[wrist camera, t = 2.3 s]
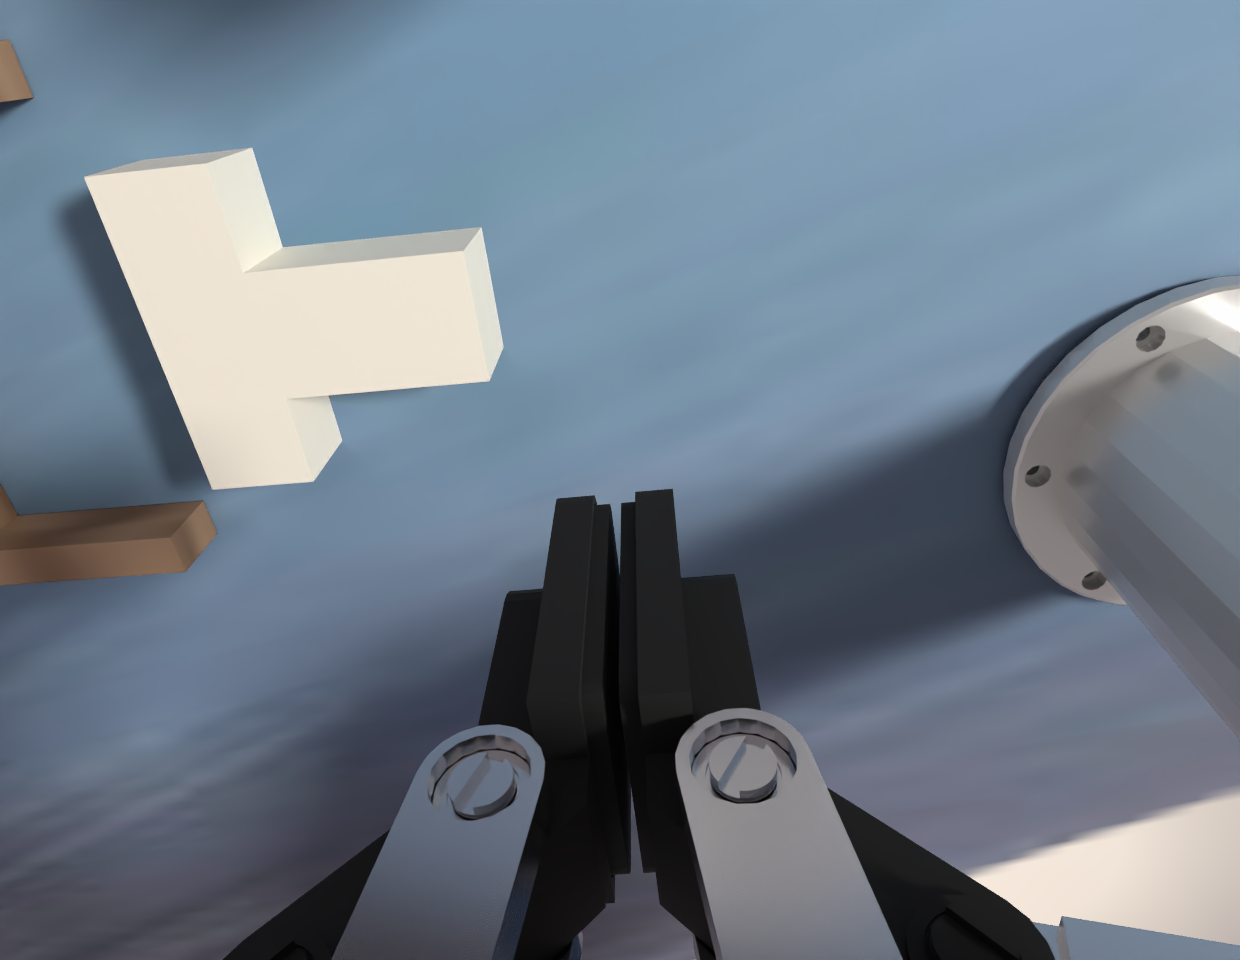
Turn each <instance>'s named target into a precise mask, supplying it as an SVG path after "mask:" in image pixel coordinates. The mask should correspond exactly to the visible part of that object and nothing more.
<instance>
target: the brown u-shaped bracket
mask: <svg viewBox="0 0 1240 960" xmlns="http://www.w3.org/2000/svg"><path fill="white" fill-rule="evenodd" d="M27 98H34V97H33V95H32V92H31V90H30V88H29V85H28V83H27V80H26V78H25V76H24V73H23V71H22V68H21V66H20V64H19V61H18V59H17V57H16V54H15V52H14V49H13V47H12V45H11V42H10V40H0V102H5V101H12V100H20V99H27ZM216 534H217V532H216V530H215V527H214V525H213V523H212V520H211V518H210V515H209V513H208V511H207V508H206V506H205V503H204V501H195V502H182V503H170V504H157V505H145V506H132V507H119V508H107V509H94V510H82V511H69V512H57V513H44V514H32V515H19V516H18V515H17V513H16V511H15V509H14V507H13V506H12V504H11V502H10V500H9V499H8V497H7V495H6V493H5V491H4V490H3V488H2V486H1V484H0V585H12V584H25V583H39V582H53V581H66V580H80V579H94V578H107V577H121V576H134V575H148V574H162V573H175V572H186V571H187V570H188V568H189V567H190V566H191V565H192V564H193V562H194V561H195V560H196V559H197V557H198V556H199V555H200V554H201V553H202V551H203V550H204V549H205V548H206V546H207V545H208V544H209V543H210V542H211V540H212V539H213V538H214V537H215V535H216Z"/></svg>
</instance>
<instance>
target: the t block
mask: <svg viewBox="0 0 1240 960" xmlns="http://www.w3.org/2000/svg"><path fill="white" fill-rule="evenodd" d="M84 178H85V181H86V183H87V186H88V188H89V190H90V193H91V195H92V198H93V200H94V203H95V205H96V207H97V210H98V212H99V215H100V217H101V220H102V222H103V224H104V227H105V229H106V232H107V234H108V237H109V239H110V242H111V244H112V246H113V249H114V251H115V254H116V256H117V259H118V261H119V263H120V266H121V268H122V271H123V273H124V276H125V278H126V280H127V283H128V285H129V288H130V290H131V293H132V295H133V297H134V300H135V302H136V305H137V307H138V310H139V312H140V314H141V317H142V319H143V322H144V324H145V327H146V329H147V331H148V334H149V336H150V339H151V341H152V344H153V346H154V348H155V351H156V353H157V356H158V358H159V361H160V363H161V366H162V368H163V370H164V373H165V375H166V378H167V380H168V383H169V385H170V387H171V390H172V392H173V395H174V397H175V400H176V402H177V404H178V407H179V409H180V412H181V414H182V417H183V419H184V421H185V424H186V426H187V429H188V431H189V434H190V436H191V438H192V441H193V443H194V446H195V448H196V451H197V453H198V455H199V458H200V460H201V463H202V465H203V468H204V470H205V472H206V475H207V477H208V480H209V482H210V485H211V487H212V490H215V489H227V488H239V487H252V486H264V485H277V484H289V483H301V482H314V480H315V479H316V477H317V476H318V474H319V473H320V472H321V470H322V469H323V467H324V466H325V465H326V463H327V462H328V460H329V459H330V457H331V456H332V455H333V453H334V452H335V450H336V449H337V447H338V446H339V445H340V443H341V442H342V439H341V435H340V432H339V429H338V426H337V422H336V419H335V416H334V413H333V409H332V406H331V403H330V400H329V396H328V395H338V394H349V393H361V392H372V391H383V390H394V389H406V388H417V387H428V386H440V385H451V384H462V383H474V382H485V381H490V378H491V376H492V373H493V371H494V369H495V366H496V364H497V361H498V359H499V357H500V354H501V352H502V349H503V341H502V336H501V331H500V325H499V320H498V314H497V309H496V303H495V298H494V293H493V287H492V282H491V276H490V271H489V265H488V260H487V255H486V249H485V244H484V238H483V233H482V228H481V227H477V228H468V229H458V230H448V231H438V232H429V233H419V234H409V235H399V236H389V237H380V238H370V239H360V240H350V241H341V242H331V243H321V244H311V245H301V246H292V247H282V243H281V240H280V237H279V234H278V230H277V227H276V224H275V221H274V217H273V214H272V211H271V208H270V204H269V201H268V198H267V195H266V191H265V188H264V185H263V182H262V178H261V175H260V172H259V169H258V165H257V162H256V159H255V156H254V152H253V149H252V148H246V149H237V150H228V151H219V152H210V153H201V154H192V155H183V156H174V157H165V158H156V159H147V160H141V161H137V162H134V163H130V164H127V165H123V166H120V167H116V168H113V169H109V170H106V171H103V172H99V173H96V174H92V175H89V176H85V177H84Z"/></svg>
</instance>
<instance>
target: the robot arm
mask: <svg viewBox="0 0 1240 960" xmlns="http://www.w3.org/2000/svg"><path fill="white" fill-rule="evenodd" d="M1003 483H1004V503H1005V507H1006V510H1007V514H1008V518H1009V521H1010V525H1011V527H1012V529H1013V530H1014V532H1015V534H1016V536H1017V537H1018V539H1019V541H1020V543H1021V544H1022V546H1023V548H1024V549H1025V550H1026V551H1027V553H1028V554H1029V555H1030V556H1031V558H1032V559H1033V560H1034V561H1035V563H1036V564H1037V565H1038V567H1039V568H1040V569H1041V570H1042V571H1043V572H1045V573H1046V574H1047V575H1049V576H1050V577H1051V578H1052V579H1054V580H1055V581H1056V582H1057V583H1059V584H1060V585H1061V586H1063V587H1065V588H1067V589H1069V590H1071V591H1073V592H1075V593H1077V594H1079V595H1082V596H1084V597H1087V598H1091V599H1095V600H1099V601H1103V602H1107V603H1111V604H1117V605H1128V606H1129V607H1130V609H1131V610H1132V611H1133V612H1134V613H1135V615H1136V616H1137V617H1138V618H1139V619H1140V621H1141V622H1142V623H1143V624H1144V625H1145V627H1146V628H1147V629H1148V630H1149V632H1150V633H1151V634H1152V635H1153V636H1154V638H1155V639H1156V640H1157V641H1158V642H1159V644H1160V645H1161V646H1162V647H1163V648H1164V650H1165V651H1166V652H1167V653H1168V654H1169V656H1170V657H1171V658H1172V659H1173V661H1174V662H1175V663H1176V664H1177V665H1178V667H1179V668H1180V669H1181V670H1182V671H1183V673H1184V674H1185V675H1186V676H1187V677H1188V679H1189V680H1190V681H1191V682H1192V684H1193V685H1194V686H1195V687H1196V688H1197V690H1198V691H1199V692H1200V693H1201V694H1202V696H1203V697H1204V698H1205V699H1206V700H1207V702H1208V703H1209V704H1210V705H1211V706H1212V708H1213V709H1214V710H1215V711H1216V713H1217V714H1218V715H1219V716H1220V717H1221V719H1222V720H1223V721H1224V722H1225V723H1226V725H1227V726H1228V727H1229V728H1230V729H1231V731H1232V732H1233V733H1234V734H1235V735H1236V737H1237V738H1238V739H1239V740H1240V275H1236V276H1225V277H1216V278H1212V279H1208V280H1204V281H1200V282H1197V283H1193V284H1189V285H1185V286H1181V287H1177V288H1175V289H1172V290H1170V291H1168V292H1165V293H1163V294H1161V295H1158V296H1156V297H1154V298H1151V299H1149V300H1147V301H1144V302H1142V303H1140V304H1137V305H1135V306H1134V307H1132V308H1131V309H1129V310H1127V311H1126V312H1124V313H1122V314H1121V315H1119V316H1117V317H1116V318H1114V319H1112V320H1111V321H1109V322H1108V323H1106V324H1104V325H1103V326H1101V327H1100V328H1098V329H1097V330H1096V331H1095V332H1094V333H1092V334H1091V335H1090V336H1089V337H1087V338H1086V339H1085V340H1084V341H1083V342H1081V343H1080V344H1079V345H1078V346H1077V347H1075V348H1074V349H1073V350H1072V351H1070V352H1069V353H1068V354H1067V355H1066V356H1065V358H1064V359H1063V360H1062V361H1061V362H1060V363H1059V364H1058V365H1057V366H1056V367H1055V369H1054V370H1053V371H1052V372H1051V373H1050V374H1049V375H1048V376H1047V377H1046V379H1045V380H1044V381H1043V382H1042V383H1041V385H1040V386H1039V388H1038V389H1037V391H1036V393H1035V394H1034V396H1033V397H1032V399H1031V400H1030V402H1029V403H1028V405H1027V406H1026V408H1025V409H1024V411H1023V413H1022V415H1021V417H1020V419H1019V422H1018V424H1017V427H1016V429H1015V431H1014V434H1013V436H1012V438H1011V441H1010V443H1009V448H1008V453H1007V457H1006V462H1005V467H1004V472H1003ZM631 789H632V796H633V803H634V810H635V817H636V824H637V831H638V838H639V845H640V852H641V859H642V866H643V872H644V873H650V872H656V878H657V886H658V893H659V901H660V905H661V906H663V907H664V908H665V909H666V910H667V911H668V912H669V913H671V914H672V915H673V916H674V917H675V918H676V919H677V920H678V921H680V922H681V923H682V924H683V925H684V926H685V927H686V928H688V929H689V930H690V931H691V932H692V934H693V944H694V950H695V955H696V959H697V960H1240V946H1239V945H1232V944H1227V943H1221V942H1215V941H1209V940H1203V939H1197V938H1190V937H1184V936H1178V935H1173V934H1166V933H1160V932H1154V931H1148V930H1142V929H1136V928H1130V927H1124V926H1118V925H1111V924H1106V923H1100V922H1094V921H1088V920H1082V919H1076V918H1070V917H1064V916H1062V917H1061V921H1060V924H1059V926H1053V925H1047V924H1041V923H1035V922H1032V921H1030V919H1029V918H1028V917H1027V916H1025V915H1024V914H1023V913H1021V912H1020V911H1019V910H1018V909H1016V908H1015V907H1014V906H1013V905H1011V904H1010V903H1009V902H1008V901H1006V900H1005V899H1003V898H1002V897H1000V896H999V895H997V894H995V893H994V892H992V891H991V890H989V889H987V888H986V887H984V886H983V885H981V884H979V883H978V882H976V881H975V880H973V879H972V878H970V877H968V876H967V875H965V874H964V873H962V872H960V871H959V870H957V869H956V868H954V867H952V866H951V865H949V864H948V863H946V862H945V861H943V860H941V859H940V858H938V857H937V856H935V855H933V854H932V853H930V852H929V851H927V850H925V849H924V848H922V847H921V846H919V845H918V844H916V843H914V842H913V841H911V840H910V839H908V838H906V837H905V836H903V835H902V834H900V833H898V832H897V831H895V830H894V829H892V828H891V827H889V826H887V825H886V824H884V823H883V822H881V821H879V820H878V819H876V818H875V817H873V816H871V815H870V814H868V813H867V812H865V811H864V810H862V809H860V808H859V807H857V806H856V805H854V804H852V803H851V802H849V801H848V800H846V799H845V798H843V797H841V796H840V795H838V794H837V793H835V792H833V791H832V790H830V789H829V788H827V787H826V785H825V782H824V780H823V778H822V776H821V773H820V771H819V769H818V767H817V764H816V762H815V760H814V758H813V755H812V753H811V751H810V749H809V746H808V745H807V743H806V742H805V740H804V739H803V737H802V736H801V734H800V733H799V731H798V730H796V729H795V728H794V727H793V726H791V725H790V724H789V723H788V722H786V721H785V720H784V719H782V718H779V717H777V716H775V715H773V714H770V713H768V712H766V711H761V709H760V704H759V699H758V693H757V688H756V683H755V677H754V672H753V667H752V661H751V656H750V651H749V646H748V640H747V635H746V630H745V624H744V619H743V614H742V608H741V603H740V598H739V593H738V587H737V582H736V578H735V575H734V574H728V575H715V576H702V577H689V578H681V575H680V564H679V553H678V542H677V531H676V520H675V509H674V498H673V489H665V490H653V491H642V492H636V493H635V502H629V503H622V504H621V556H620V573H619V566H618V558H617V550H616V542H615V534H614V527H613V519H612V512H611V506H610V504H605V505H597V502H596V498H595V496H582V497H570V498H558V499H557V500H556V505H555V512H554V519H553V525H552V532H551V539H550V545H549V552H548V559H547V566H546V572H545V579H544V586H543V589H534V590H521V591H509V592H508V593H507V595H506V598H505V601H504V606H503V611H502V616H501V620H500V625H499V630H498V635H497V639H496V644H495V649H494V654H493V658H492V663H491V668H490V672H489V677H488V682H487V687H486V691H485V696H484V701H483V706H482V710H481V715H480V720H479V725H478V726H477V727H474V728H470V729H467V730H464V731H461V732H458V733H457V734H455V735H453V736H451V737H450V738H448V739H446V740H444V741H443V742H441V743H440V744H439V745H438V746H437V747H436V748H435V749H434V750H433V751H432V752H430V753H429V754H428V755H427V757H426V758H425V760H424V761H423V763H422V764H421V766H420V767H419V769H418V771H417V772H416V775H415V777H414V779H413V781H412V783H411V786H410V788H409V790H408V792H407V794H406V797H405V799H404V801H403V803H402V805H401V808H400V810H399V812H398V814H397V816H396V819H395V821H394V823H393V825H392V827H391V829H390V830H389V831H387V832H386V833H385V834H383V835H382V836H381V837H379V838H378V839H377V840H375V841H374V842H373V843H371V844H370V845H369V846H367V847H366V848H365V849H363V850H362V851H361V852H360V853H358V854H357V855H356V856H354V857H353V858H352V859H350V860H349V861H348V862H346V863H345V864H344V865H342V866H341V867H340V868H338V869H337V870H336V871H334V872H333V873H332V874H330V875H329V876H328V877H327V878H325V879H324V880H323V881H321V882H320V883H319V884H317V885H316V886H315V887H313V888H312V889H311V890H309V891H308V892H307V893H305V894H304V895H303V896H301V897H300V898H299V899H297V900H296V901H295V902H294V903H292V904H291V905H290V906H288V907H287V908H286V909H284V910H283V911H282V912H280V913H279V914H278V915H276V916H275V917H274V918H272V919H271V920H270V921H268V922H267V923H266V924H264V925H263V926H262V927H261V928H259V929H258V930H257V931H255V932H254V933H253V934H251V935H250V936H249V937H247V938H246V939H245V940H243V941H242V942H241V943H240V944H239V945H238V946H237V947H236V948H235V949H234V950H233V951H232V952H230V953H229V954H228V955H227V956H226V957H225V958H224V959H223V960H581V955H582V941H583V934H582V930H583V929H584V928H585V927H586V926H587V925H588V924H589V923H590V922H591V921H592V920H593V919H594V918H595V917H596V916H597V915H598V914H599V913H600V912H601V911H602V910H603V909H604V908H605V905H606V903H615V874H630V871H631Z"/></svg>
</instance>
